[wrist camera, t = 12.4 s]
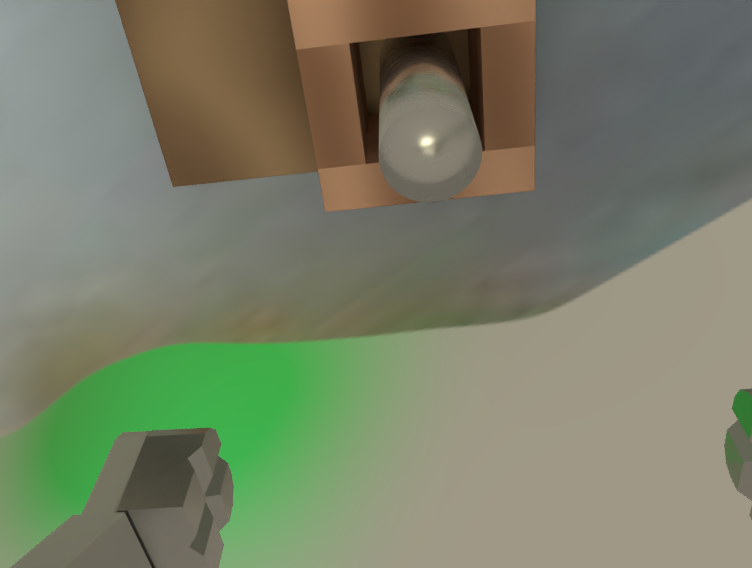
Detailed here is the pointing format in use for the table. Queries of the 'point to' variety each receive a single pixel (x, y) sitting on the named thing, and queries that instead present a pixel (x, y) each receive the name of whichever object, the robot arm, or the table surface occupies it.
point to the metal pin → (425, 120)
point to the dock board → (230, 86)
